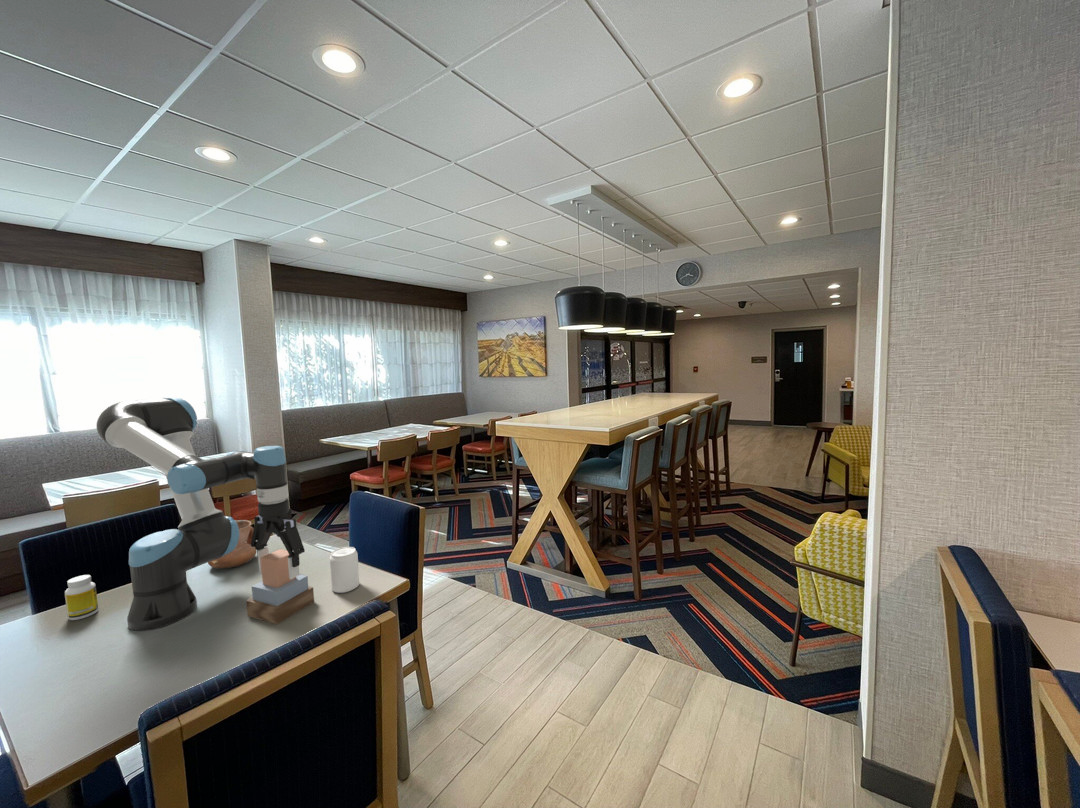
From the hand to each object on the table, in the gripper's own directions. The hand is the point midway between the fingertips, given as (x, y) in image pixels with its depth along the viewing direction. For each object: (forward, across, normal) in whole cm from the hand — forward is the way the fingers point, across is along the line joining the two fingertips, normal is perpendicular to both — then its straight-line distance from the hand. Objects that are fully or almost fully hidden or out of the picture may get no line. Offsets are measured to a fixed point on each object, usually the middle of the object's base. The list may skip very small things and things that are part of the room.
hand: (279, 573), depth 127 cm
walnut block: (+11, 0, 0) cm, 11 cm away
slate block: (+6, 0, 0) cm, 6 cm away
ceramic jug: (+11, -45, +16) cm, 49 cm away
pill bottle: (+11, -53, -22) cm, 58 cm away
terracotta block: (+2, 0, 0) cm, 2 cm away
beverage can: (+11, +8, +16) cm, 21 cm away
